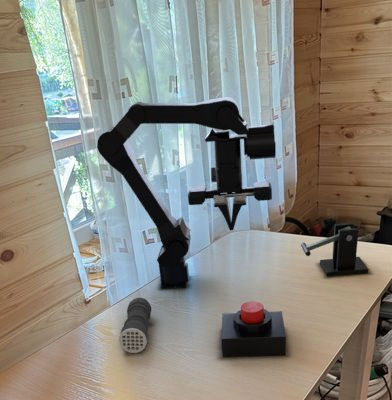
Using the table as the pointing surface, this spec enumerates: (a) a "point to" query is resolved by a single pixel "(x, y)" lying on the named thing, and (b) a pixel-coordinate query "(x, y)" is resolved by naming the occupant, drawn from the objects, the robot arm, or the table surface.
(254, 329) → the stop box
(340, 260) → the switch bracket
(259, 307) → the stop button
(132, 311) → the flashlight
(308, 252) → the switch lever
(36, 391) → the table surface
